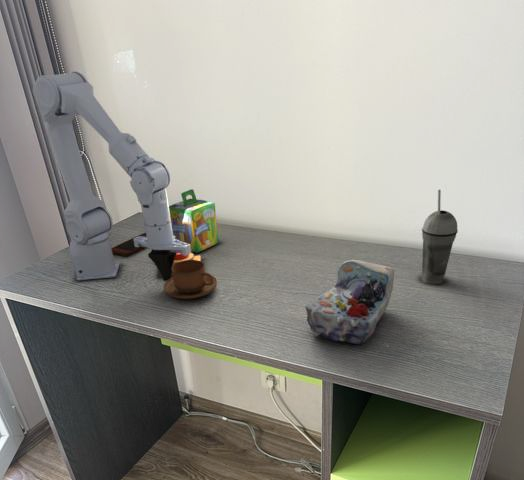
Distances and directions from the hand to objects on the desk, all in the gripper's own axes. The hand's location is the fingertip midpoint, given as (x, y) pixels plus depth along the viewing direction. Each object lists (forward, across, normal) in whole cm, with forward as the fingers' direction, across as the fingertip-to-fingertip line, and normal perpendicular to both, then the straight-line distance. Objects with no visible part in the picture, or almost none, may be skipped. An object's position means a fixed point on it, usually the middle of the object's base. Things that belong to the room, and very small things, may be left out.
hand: (167, 279), depth 115 cm
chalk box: (+2, +9, -24) cm, 26 cm away
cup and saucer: (+2, -6, 0) cm, 7 cm away
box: (+2, +4, -10) cm, 11 cm away
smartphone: (+2, +25, -18) cm, 31 cm away
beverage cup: (+2, -54, -26) cm, 60 cm away
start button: (-1, +4, -10) cm, 11 cm away
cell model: (+2, -45, 0) cm, 45 cm away
